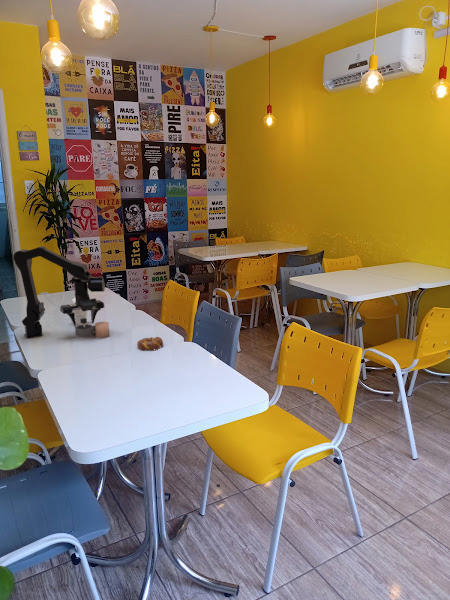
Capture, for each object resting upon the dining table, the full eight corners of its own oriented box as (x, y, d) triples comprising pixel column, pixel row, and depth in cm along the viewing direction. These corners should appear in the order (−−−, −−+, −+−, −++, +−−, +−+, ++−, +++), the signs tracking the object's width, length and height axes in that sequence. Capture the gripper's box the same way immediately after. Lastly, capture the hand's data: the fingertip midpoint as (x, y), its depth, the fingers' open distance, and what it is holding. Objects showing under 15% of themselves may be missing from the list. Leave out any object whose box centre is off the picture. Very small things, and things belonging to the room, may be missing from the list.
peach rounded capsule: (98, 338, 202) (97, 326, 201) (94, 335, 207) (93, 323, 205) (111, 336, 205) (110, 324, 204) (106, 333, 210) (105, 320, 209)
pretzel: (152, 340, 200) (152, 333, 199) (169, 346, 193) (169, 337, 193) (131, 347, 191) (131, 339, 190) (148, 353, 184) (148, 344, 184)
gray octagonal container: (79, 337, 203) (78, 330, 202) (74, 333, 209) (73, 326, 208) (99, 334, 209) (99, 326, 208) (94, 330, 215) (93, 322, 214)
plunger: (80, 335, 204) (79, 321, 203) (76, 332, 209) (75, 318, 207) (92, 333, 208) (91, 319, 206) (88, 330, 212) (87, 316, 210)
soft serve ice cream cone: (86, 326, 221) (84, 294, 217) (70, 326, 221) (67, 294, 217) (92, 321, 229) (89, 291, 225) (75, 321, 229) (73, 291, 225)
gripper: (65, 297, 192) (68, 332, 196) (107, 292, 202) (109, 325, 206) (58, 293, 201) (61, 326, 204) (99, 288, 211) (101, 319, 215)
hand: (84, 324), depth 207 cm, fingers open, 8 cm apart
